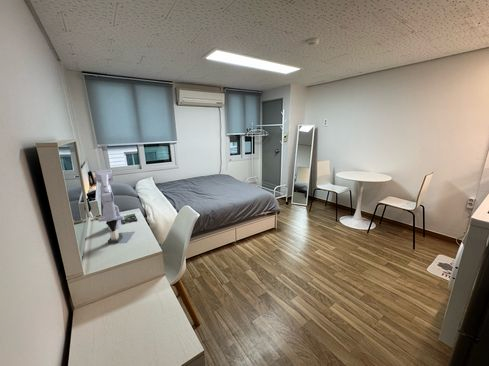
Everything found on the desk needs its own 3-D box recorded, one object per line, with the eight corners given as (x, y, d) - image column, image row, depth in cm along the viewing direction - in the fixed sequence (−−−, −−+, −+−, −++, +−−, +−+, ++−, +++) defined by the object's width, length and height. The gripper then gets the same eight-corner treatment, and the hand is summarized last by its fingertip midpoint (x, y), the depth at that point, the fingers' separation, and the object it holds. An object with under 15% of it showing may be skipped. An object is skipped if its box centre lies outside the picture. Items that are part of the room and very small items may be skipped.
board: (117, 234, 147) (116, 232, 146) (135, 232, 148) (134, 230, 148) (106, 246, 132) (106, 243, 132) (127, 244, 134) (126, 242, 134)
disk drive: (138, 222, 166) (134, 216, 177) (137, 219, 165) (134, 213, 176) (123, 226, 160) (120, 219, 171) (122, 223, 159) (120, 216, 171)
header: (113, 238, 140) (112, 235, 139) (122, 237, 141) (122, 234, 140) (108, 243, 133) (107, 240, 133) (118, 242, 134) (117, 240, 133)
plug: (114, 239, 139) (112, 229, 137) (119, 238, 139) (117, 228, 137) (111, 242, 135) (109, 232, 133) (116, 241, 135) (114, 231, 133)
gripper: (94, 214, 127) (98, 234, 130) (119, 212, 129) (123, 232, 132) (99, 210, 133) (104, 229, 137) (124, 208, 135) (127, 227, 139)
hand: (113, 230), depth 135 cm, fingers closed, pressing on plug
